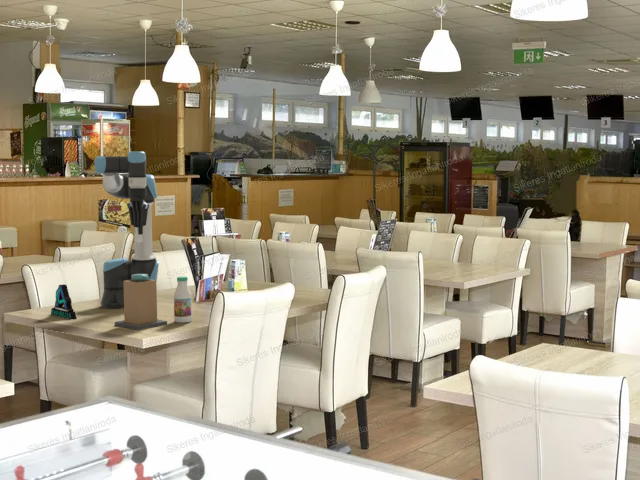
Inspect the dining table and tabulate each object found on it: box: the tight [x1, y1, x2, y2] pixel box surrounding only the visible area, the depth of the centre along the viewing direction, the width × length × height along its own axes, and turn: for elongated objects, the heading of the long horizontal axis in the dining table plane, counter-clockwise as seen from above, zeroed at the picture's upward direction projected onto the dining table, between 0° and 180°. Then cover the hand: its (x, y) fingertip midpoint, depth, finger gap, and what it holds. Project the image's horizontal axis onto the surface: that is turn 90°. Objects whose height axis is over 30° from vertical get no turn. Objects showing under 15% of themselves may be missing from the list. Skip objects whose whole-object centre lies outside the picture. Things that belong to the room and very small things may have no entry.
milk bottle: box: [173, 276, 193, 324], centre depth 397 cm, size 8×8×20 cm
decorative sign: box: [50, 284, 77, 320], centre depth 411 cm, size 19×2×15 cm, turn 45°
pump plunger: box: [132, 274, 149, 282], centre depth 388 cm, size 10×7×19 cm
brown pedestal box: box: [114, 279, 168, 331], centre depth 389 cm, size 16×16×20 cm
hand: (138, 242), depth 387 cm, fingers closed
